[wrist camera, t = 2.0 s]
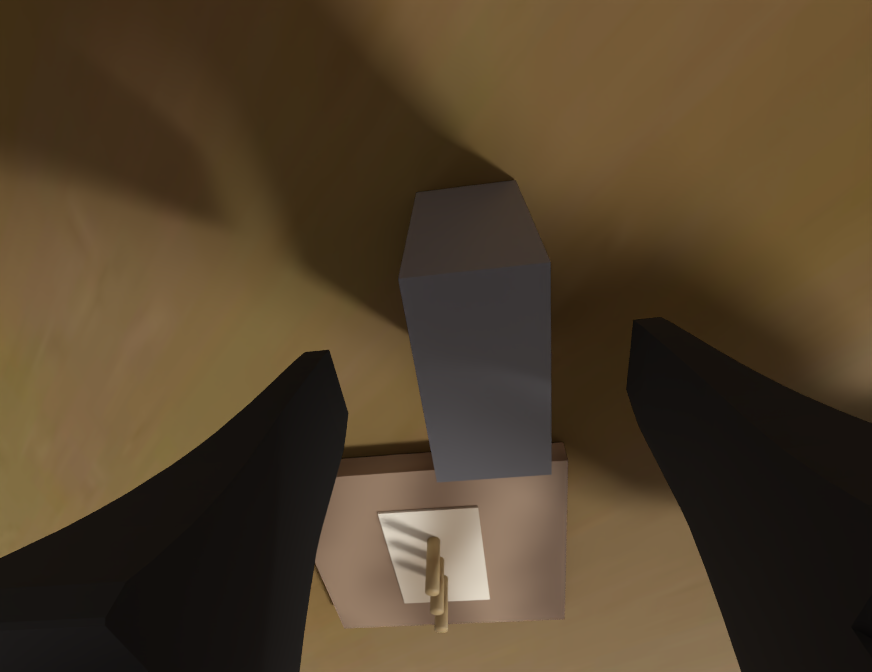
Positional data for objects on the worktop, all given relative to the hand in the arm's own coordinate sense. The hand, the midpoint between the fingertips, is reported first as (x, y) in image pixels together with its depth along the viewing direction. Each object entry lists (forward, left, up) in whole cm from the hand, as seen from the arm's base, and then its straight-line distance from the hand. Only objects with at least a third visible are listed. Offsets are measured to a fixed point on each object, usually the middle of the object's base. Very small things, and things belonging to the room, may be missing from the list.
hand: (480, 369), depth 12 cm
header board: (+3, +14, -5) cm, 15 cm away
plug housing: (0, 0, -5) cm, 5 cm away
